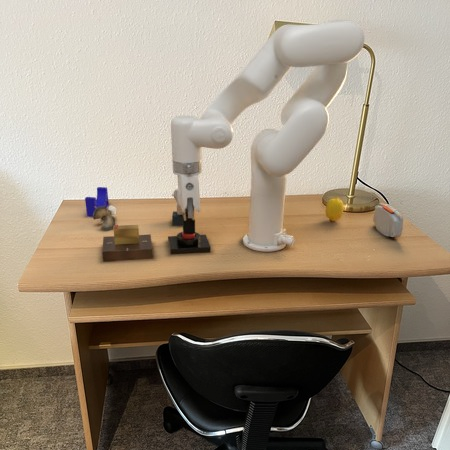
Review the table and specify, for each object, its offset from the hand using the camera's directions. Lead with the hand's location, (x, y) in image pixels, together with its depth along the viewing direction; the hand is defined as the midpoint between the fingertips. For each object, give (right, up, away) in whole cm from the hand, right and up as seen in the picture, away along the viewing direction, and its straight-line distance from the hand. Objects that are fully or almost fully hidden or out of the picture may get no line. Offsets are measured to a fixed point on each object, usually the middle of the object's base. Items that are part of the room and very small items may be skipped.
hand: (189, 232), depth 137 cm
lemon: (+45, +7, +22) cm, 51 cm away
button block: (0, -4, +2) cm, 4 cm away
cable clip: (-31, +11, +26) cm, 42 cm away
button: (0, -2, +1) cm, 2 cm away
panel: (-17, -6, -2) cm, 18 cm away
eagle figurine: (-27, +4, +15) cm, 31 cm away
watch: (-4, +5, +18) cm, 19 cm away
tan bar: (-17, -3, -3) cm, 17 cm away
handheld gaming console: (+59, +2, +15) cm, 61 cm away
